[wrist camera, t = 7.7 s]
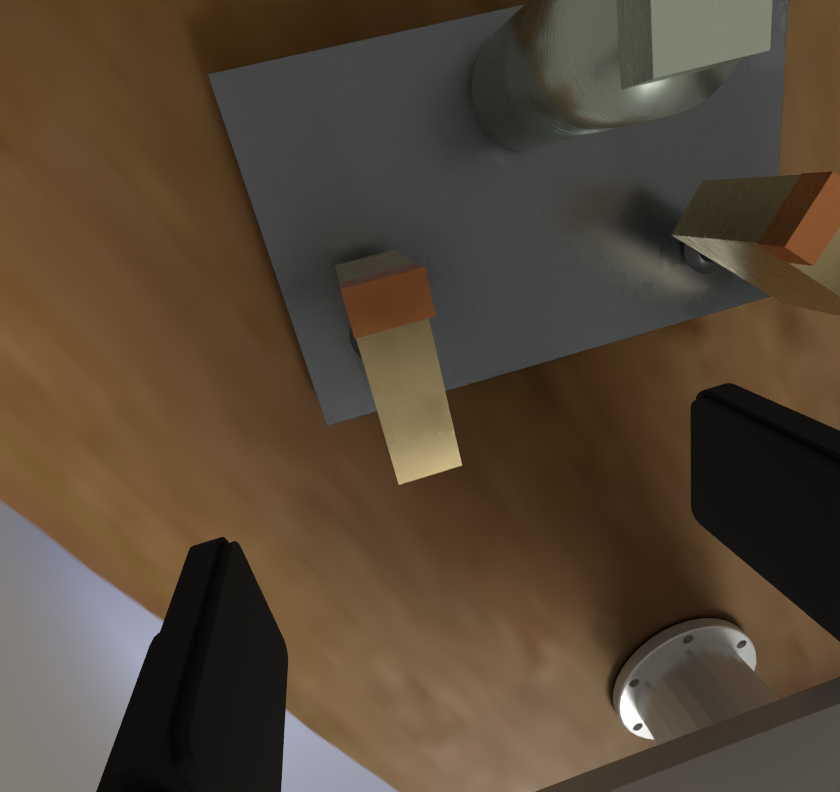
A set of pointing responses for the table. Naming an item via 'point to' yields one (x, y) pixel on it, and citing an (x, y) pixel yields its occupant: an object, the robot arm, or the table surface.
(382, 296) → the knob
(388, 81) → the level plate
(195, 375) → the table surface
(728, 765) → the robot arm
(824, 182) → the knob
